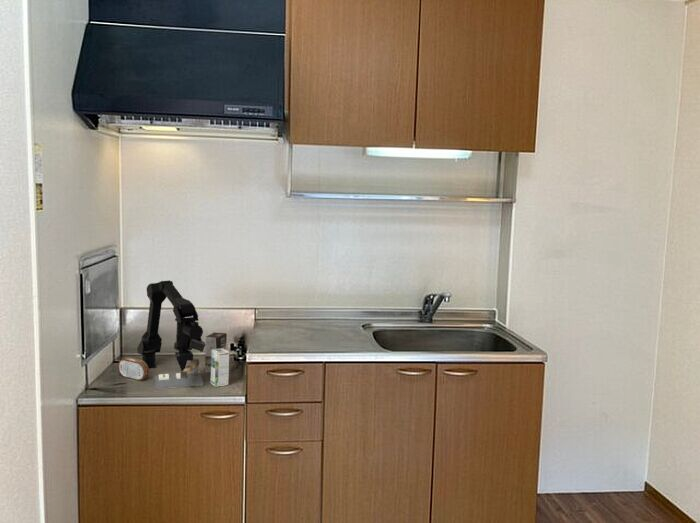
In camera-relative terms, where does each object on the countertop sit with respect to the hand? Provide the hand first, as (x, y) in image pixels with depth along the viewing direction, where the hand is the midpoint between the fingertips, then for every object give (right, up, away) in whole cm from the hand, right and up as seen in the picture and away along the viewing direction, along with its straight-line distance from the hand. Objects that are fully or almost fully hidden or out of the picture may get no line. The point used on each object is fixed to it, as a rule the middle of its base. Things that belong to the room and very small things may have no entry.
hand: (182, 371), depth 227 cm
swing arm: (+2, 0, +2) cm, 3 cm away
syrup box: (+14, -7, +4) cm, 16 cm away
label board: (-3, -6, +4) cm, 8 cm away
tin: (-23, -5, +7) cm, 24 cm away
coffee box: (+8, -4, +23) cm, 25 cm away
